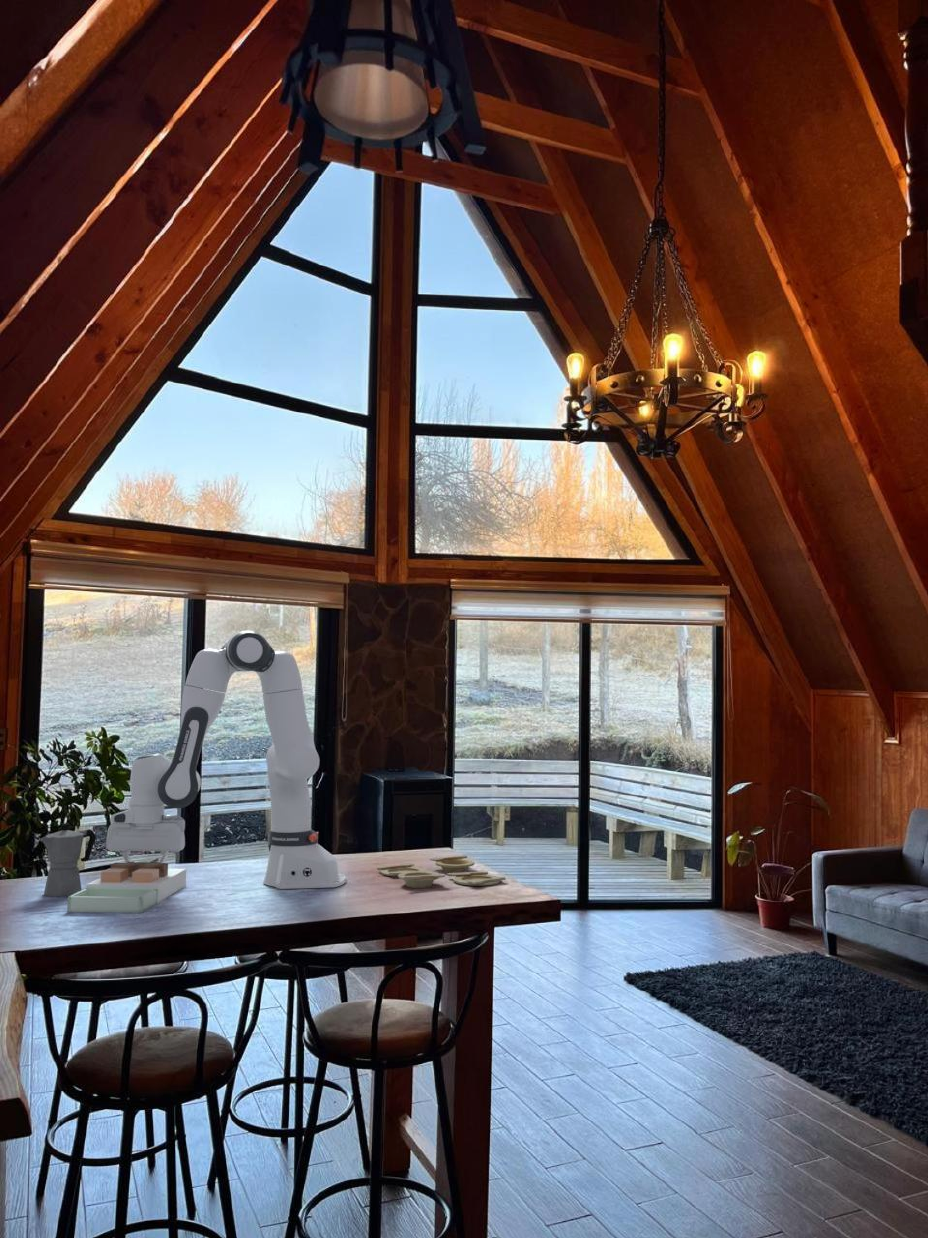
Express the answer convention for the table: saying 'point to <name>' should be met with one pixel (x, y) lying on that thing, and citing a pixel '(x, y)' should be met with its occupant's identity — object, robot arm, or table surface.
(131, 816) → the robot arm
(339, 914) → the table surface
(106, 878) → the tile
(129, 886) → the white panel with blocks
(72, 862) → the coffeepot
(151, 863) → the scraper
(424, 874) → the tableware set
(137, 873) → the tile
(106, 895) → the box
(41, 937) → the table surface
